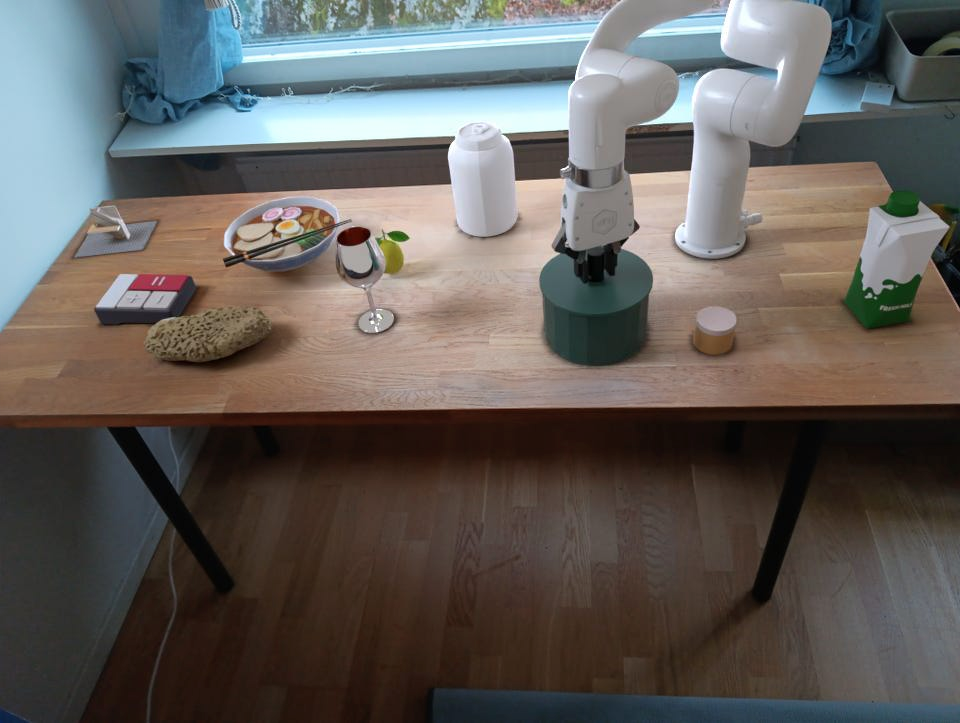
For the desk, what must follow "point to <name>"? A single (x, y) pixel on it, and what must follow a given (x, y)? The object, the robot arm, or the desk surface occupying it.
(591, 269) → the lid
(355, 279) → the wineglass
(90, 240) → the architectural model
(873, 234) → the milk carton
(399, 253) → the lemon
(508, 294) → the desk surface
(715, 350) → the cake
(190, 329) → the sponge
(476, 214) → the can
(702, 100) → the robot arm
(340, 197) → the desk surface
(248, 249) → the ramen bowl
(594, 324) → the pot
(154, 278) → the calculator
